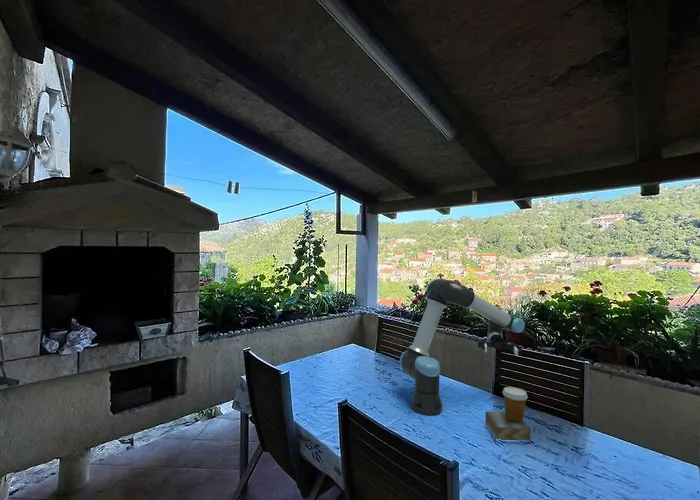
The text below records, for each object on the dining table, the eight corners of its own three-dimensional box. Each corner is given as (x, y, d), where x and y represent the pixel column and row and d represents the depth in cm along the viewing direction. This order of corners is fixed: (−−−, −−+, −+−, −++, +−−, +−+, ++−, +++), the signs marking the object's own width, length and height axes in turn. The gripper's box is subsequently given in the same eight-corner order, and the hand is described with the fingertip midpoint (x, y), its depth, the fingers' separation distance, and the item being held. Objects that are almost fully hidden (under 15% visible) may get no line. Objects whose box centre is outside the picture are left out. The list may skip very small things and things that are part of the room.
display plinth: (497, 441, 132) (497, 426, 132) (485, 424, 145) (485, 411, 145) (530, 443, 131) (530, 428, 131) (515, 426, 144) (515, 412, 144)
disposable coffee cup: (518, 427, 132) (519, 397, 132) (497, 417, 140) (497, 389, 140) (531, 421, 136) (532, 393, 137) (510, 412, 145) (511, 384, 145)
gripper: (522, 350, 174) (530, 362, 154) (472, 344, 182) (473, 355, 162) (522, 336, 174) (530, 346, 154) (472, 331, 182) (473, 340, 162)
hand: (501, 351), depth 158 cm, fingers open, 13 cm apart
